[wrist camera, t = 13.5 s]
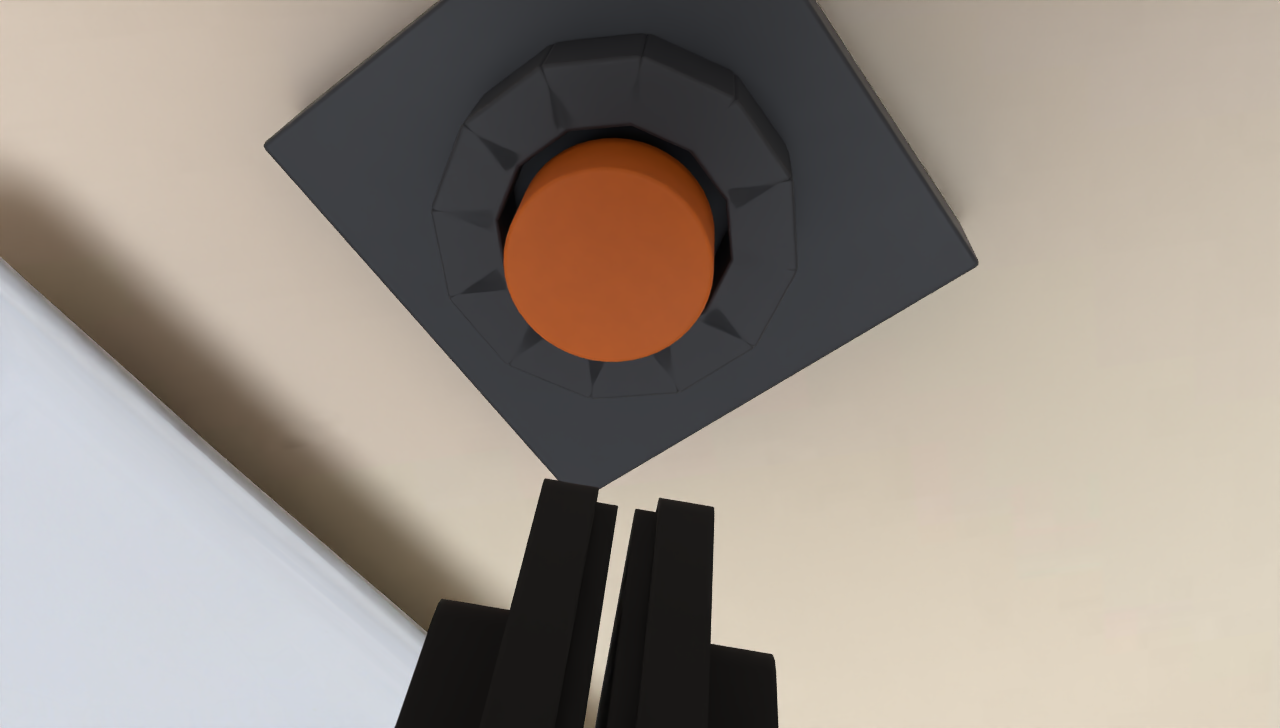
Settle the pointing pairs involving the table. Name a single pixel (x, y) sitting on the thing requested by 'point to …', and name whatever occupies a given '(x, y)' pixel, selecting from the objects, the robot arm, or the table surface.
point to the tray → (162, 564)
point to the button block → (659, 116)
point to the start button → (611, 250)
